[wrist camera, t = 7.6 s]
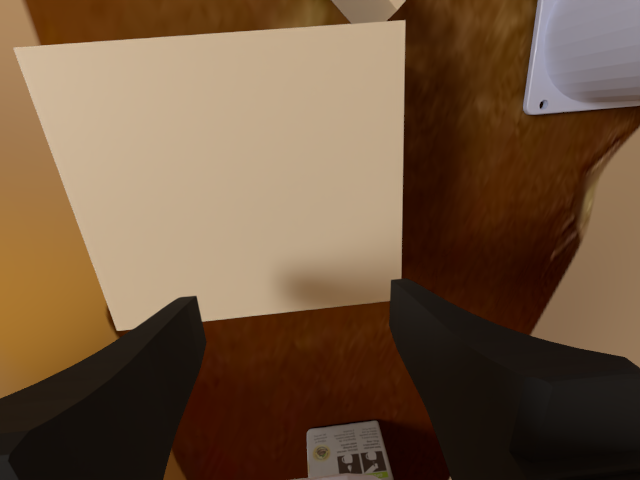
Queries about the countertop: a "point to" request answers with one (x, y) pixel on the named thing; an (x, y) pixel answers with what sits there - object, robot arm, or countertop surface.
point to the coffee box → (348, 451)
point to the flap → (368, 9)
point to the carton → (231, 165)
